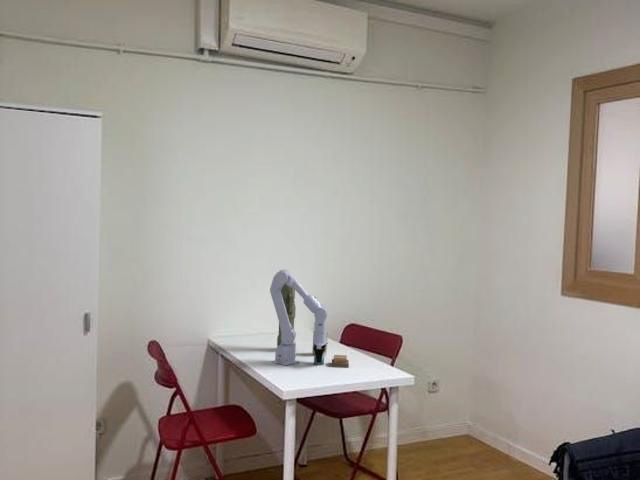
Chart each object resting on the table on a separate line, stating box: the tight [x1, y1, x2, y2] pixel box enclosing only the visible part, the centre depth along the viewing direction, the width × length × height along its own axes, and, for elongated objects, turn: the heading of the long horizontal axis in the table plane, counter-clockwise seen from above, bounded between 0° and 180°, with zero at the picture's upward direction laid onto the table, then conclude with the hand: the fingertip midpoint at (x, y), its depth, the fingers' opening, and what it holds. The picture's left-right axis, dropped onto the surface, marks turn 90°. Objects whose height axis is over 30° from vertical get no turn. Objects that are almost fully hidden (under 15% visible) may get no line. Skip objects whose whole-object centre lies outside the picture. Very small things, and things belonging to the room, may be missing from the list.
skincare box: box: [311, 330, 328, 356], centre depth 289 cm, size 6×4×12 cm
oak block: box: [333, 354, 348, 363], centre depth 270 cm, size 6×6×2 cm
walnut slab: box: [330, 358, 350, 369], centre depth 270 cm, size 8×8×2 cm
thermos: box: [276, 283, 297, 347], centre depth 296 cm, size 9×12×35 cm
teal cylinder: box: [313, 355, 325, 366], centre depth 270 cm, size 5×5×4 cm
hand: (319, 361), depth 270 cm, fingers closed on teal cylinder, 5 cm apart
